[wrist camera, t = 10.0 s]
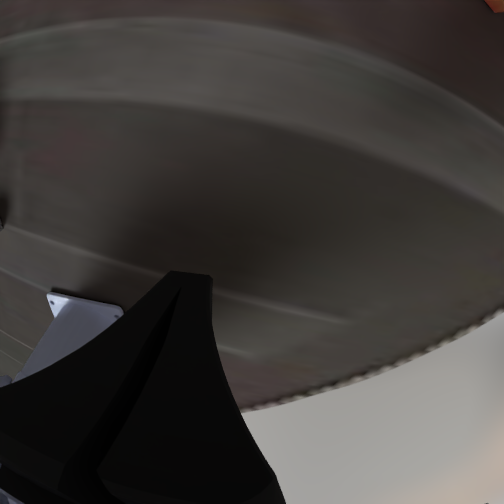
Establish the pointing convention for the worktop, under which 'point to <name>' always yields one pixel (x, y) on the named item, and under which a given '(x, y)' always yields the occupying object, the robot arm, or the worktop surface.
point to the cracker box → (496, 5)
